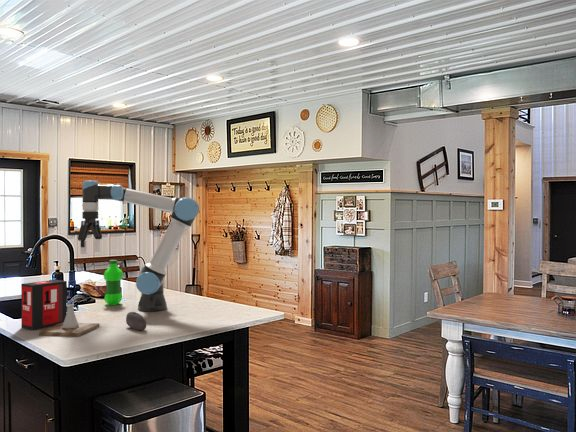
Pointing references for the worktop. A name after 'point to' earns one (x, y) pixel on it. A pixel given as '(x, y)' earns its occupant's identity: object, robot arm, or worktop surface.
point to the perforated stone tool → (136, 321)
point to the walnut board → (69, 330)
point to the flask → (70, 318)
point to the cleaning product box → (43, 304)
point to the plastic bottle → (113, 284)
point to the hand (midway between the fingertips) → (90, 252)
